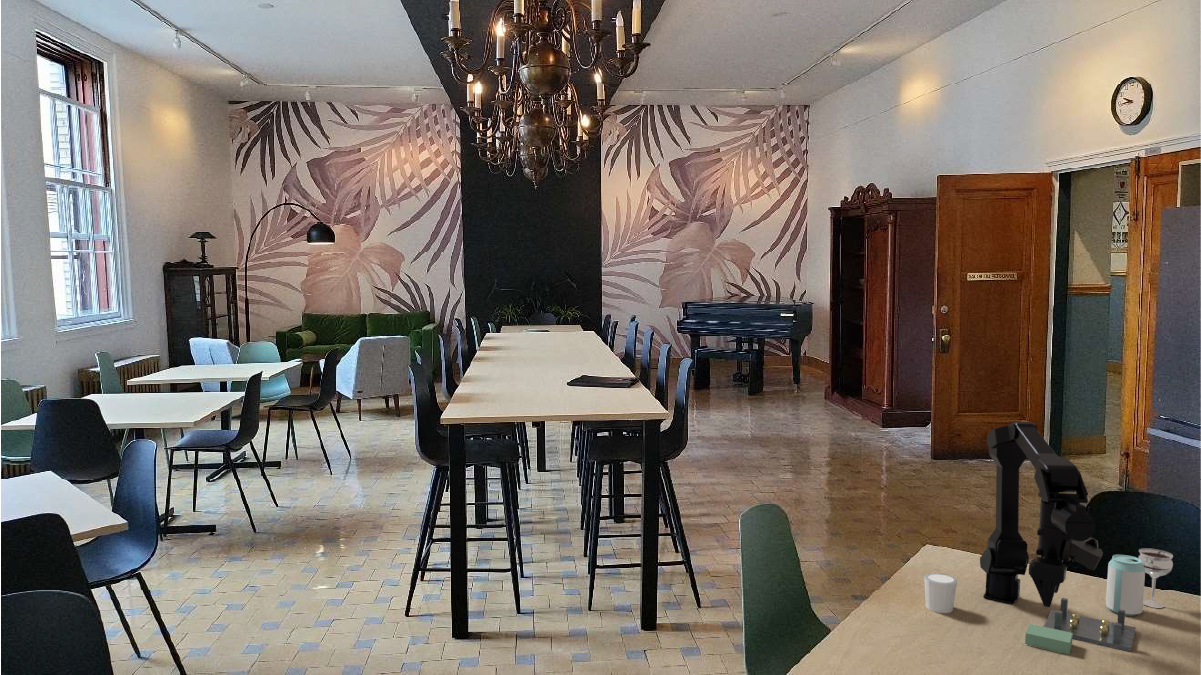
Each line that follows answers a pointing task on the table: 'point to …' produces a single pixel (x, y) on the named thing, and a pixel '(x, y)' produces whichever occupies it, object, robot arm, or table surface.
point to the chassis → (1092, 628)
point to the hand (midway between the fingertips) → (1050, 599)
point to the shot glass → (940, 592)
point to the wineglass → (1155, 568)
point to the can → (1125, 585)
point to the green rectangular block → (1049, 638)
